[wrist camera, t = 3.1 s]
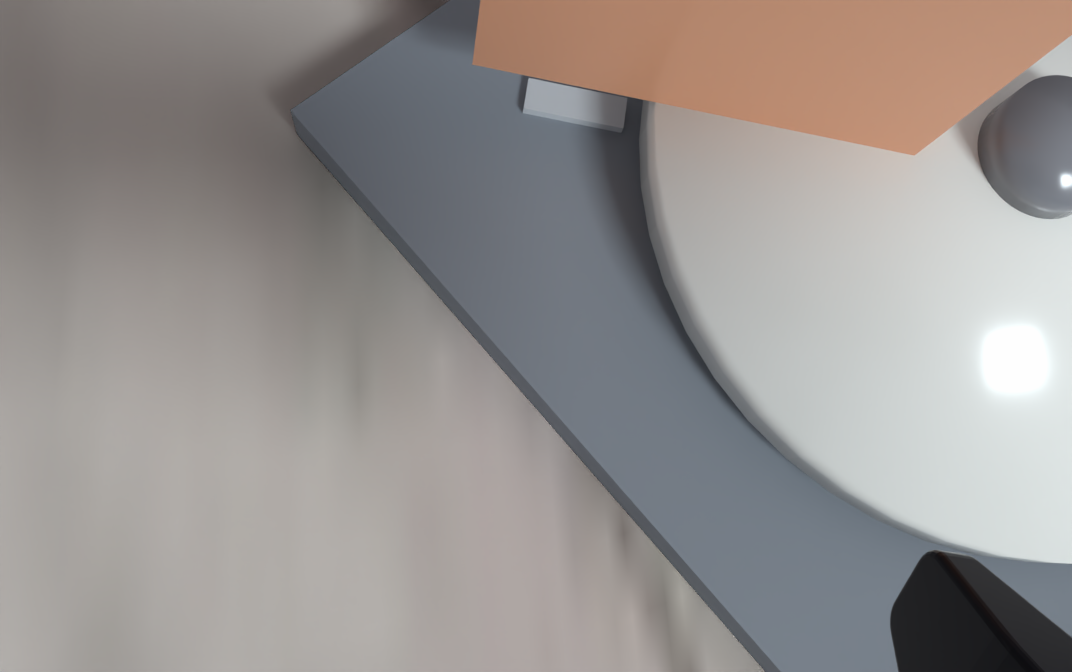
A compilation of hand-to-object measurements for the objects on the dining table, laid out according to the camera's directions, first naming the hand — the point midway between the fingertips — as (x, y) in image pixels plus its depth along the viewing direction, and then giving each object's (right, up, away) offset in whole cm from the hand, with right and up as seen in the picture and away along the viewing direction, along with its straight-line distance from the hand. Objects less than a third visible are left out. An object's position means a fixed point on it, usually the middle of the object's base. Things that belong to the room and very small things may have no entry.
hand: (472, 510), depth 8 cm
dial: (+12, +5, +14) cm, 19 cm away
